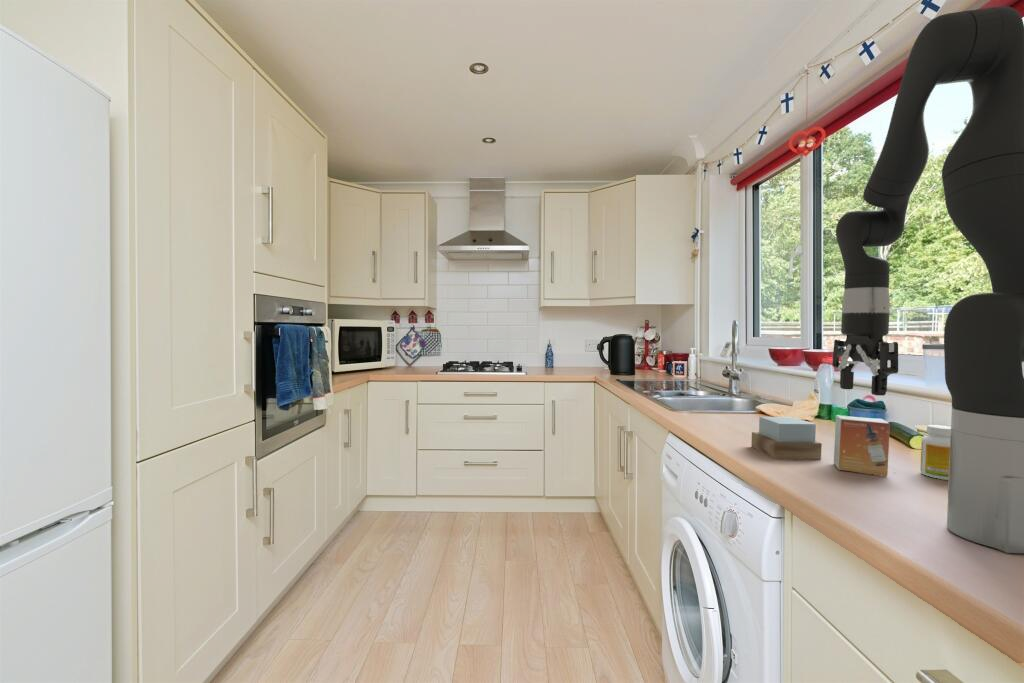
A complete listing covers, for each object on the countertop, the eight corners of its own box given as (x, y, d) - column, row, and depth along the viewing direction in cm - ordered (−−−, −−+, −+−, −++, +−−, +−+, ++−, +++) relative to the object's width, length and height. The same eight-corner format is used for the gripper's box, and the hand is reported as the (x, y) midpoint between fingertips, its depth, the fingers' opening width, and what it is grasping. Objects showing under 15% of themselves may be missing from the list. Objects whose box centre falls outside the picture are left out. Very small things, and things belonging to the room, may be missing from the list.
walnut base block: (821, 461, 98) (821, 443, 98) (774, 460, 99) (775, 442, 98) (793, 449, 108) (793, 432, 108) (751, 448, 109) (751, 432, 108)
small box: (837, 470, 91) (839, 418, 90) (833, 463, 96) (834, 414, 95) (888, 477, 87) (890, 423, 87) (881, 469, 92) (882, 418, 92)
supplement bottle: (966, 482, 85) (968, 430, 84) (932, 479, 86) (934, 429, 85) (944, 473, 90) (946, 424, 90) (913, 471, 91) (915, 423, 91)
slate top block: (815, 442, 99) (815, 424, 99) (778, 441, 99) (779, 423, 99) (792, 433, 107) (793, 417, 107) (758, 433, 107) (759, 416, 107)
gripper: (915, 310, 83) (911, 398, 84) (857, 312, 97) (854, 387, 98) (873, 310, 83) (869, 397, 84) (822, 312, 97) (819, 386, 98)
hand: (861, 391), depth 91 cm, fingers open, 8 cm apart
